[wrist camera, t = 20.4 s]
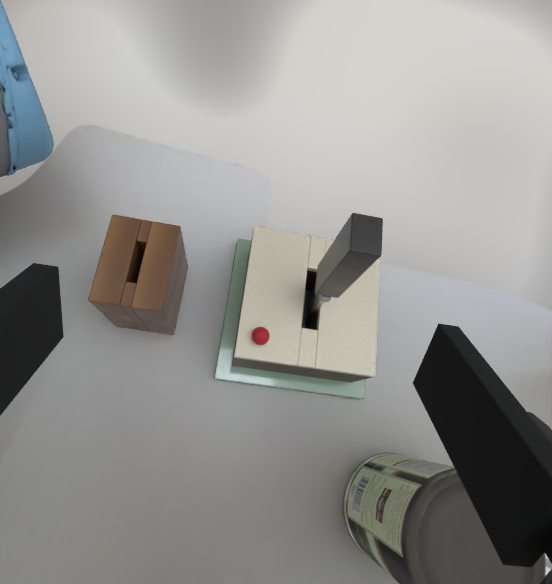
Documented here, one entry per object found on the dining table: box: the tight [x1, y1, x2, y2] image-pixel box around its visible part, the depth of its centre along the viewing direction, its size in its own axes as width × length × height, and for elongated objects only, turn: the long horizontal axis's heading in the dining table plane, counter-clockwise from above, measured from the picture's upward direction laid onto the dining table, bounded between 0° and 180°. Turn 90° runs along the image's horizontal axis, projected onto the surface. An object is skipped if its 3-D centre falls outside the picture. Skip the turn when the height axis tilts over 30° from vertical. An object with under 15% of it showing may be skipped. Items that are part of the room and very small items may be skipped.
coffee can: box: [344, 453, 546, 584], centre depth 34 cm, size 10×10×14 cm
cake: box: [232, 226, 380, 382], centre depth 40 cm, size 13×13×8 cm
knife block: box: [88, 215, 188, 335], centre depth 39 cm, size 6×8×10 cm
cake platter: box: [215, 239, 365, 399], centre depth 45 cm, size 16×16×1 cm
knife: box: [301, 213, 383, 327], centre depth 34 cm, size 2×3×21 cm, turn 173°
